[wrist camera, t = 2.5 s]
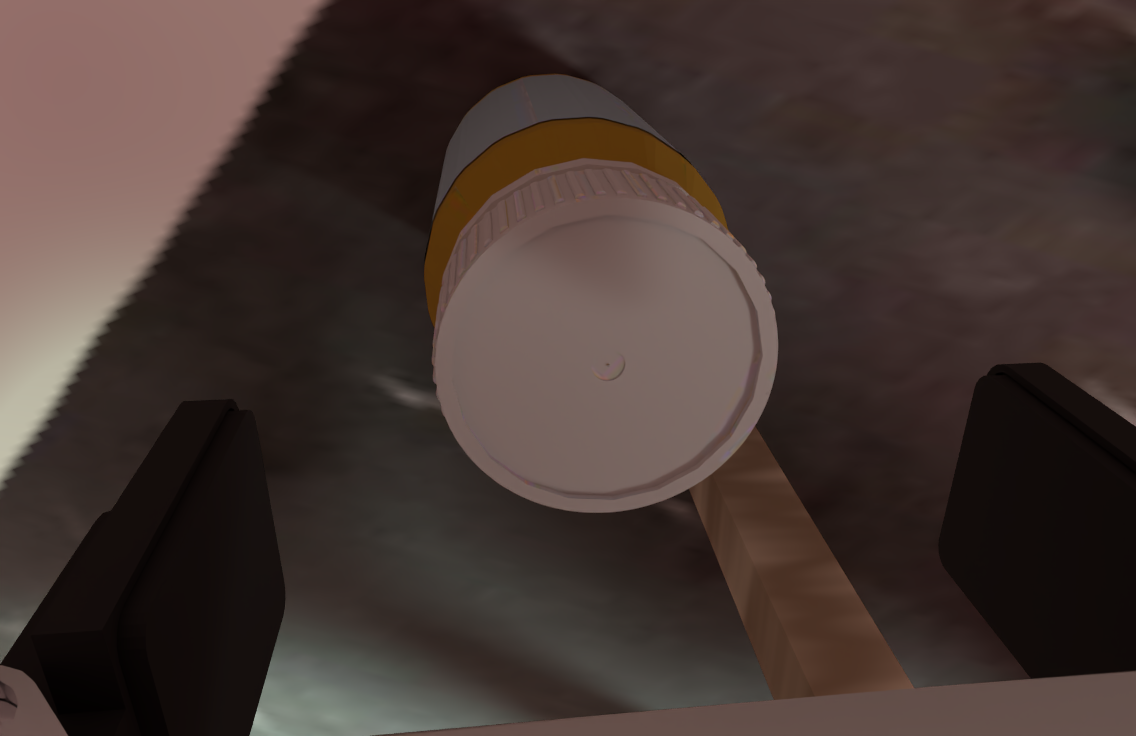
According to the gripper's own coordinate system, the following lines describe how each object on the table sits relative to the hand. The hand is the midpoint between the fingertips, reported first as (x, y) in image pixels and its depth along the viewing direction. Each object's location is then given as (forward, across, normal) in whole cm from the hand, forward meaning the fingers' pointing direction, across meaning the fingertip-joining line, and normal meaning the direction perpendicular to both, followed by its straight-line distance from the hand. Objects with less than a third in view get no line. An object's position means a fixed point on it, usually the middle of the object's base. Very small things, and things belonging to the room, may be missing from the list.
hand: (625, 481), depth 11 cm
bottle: (+19, -1, 0) cm, 19 cm away
